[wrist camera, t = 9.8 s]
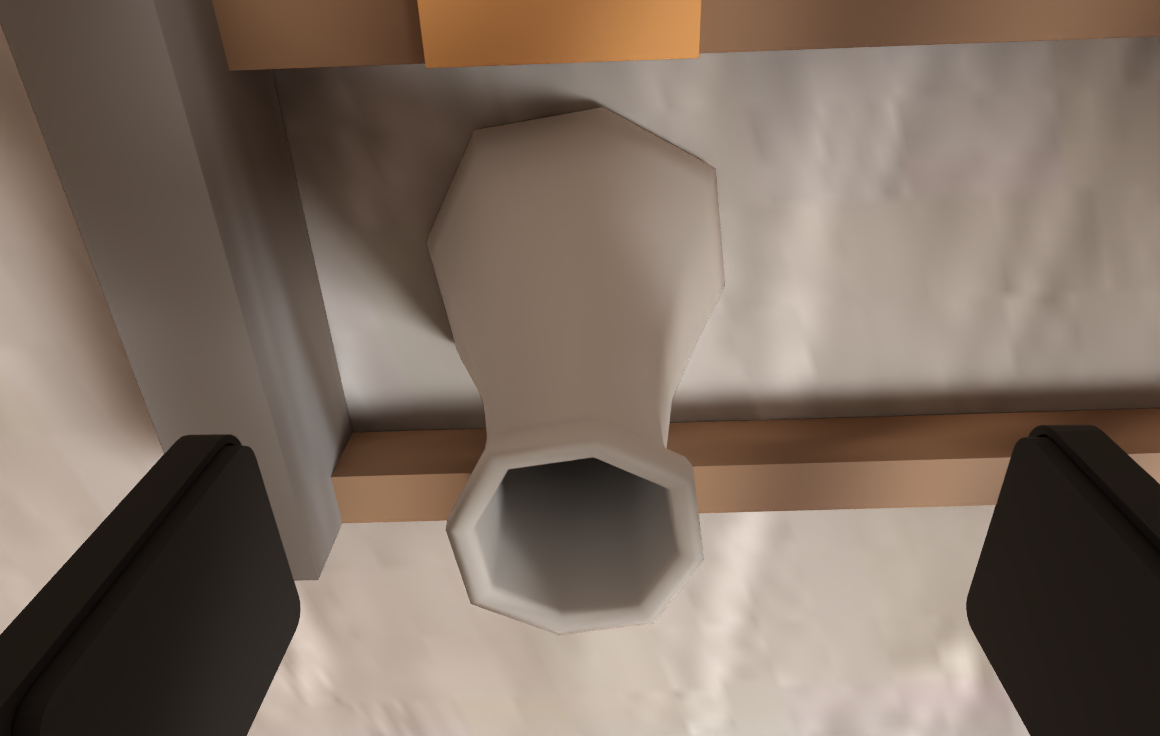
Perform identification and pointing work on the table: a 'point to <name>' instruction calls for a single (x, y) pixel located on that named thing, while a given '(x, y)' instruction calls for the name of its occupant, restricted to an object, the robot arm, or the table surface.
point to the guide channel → (287, 269)
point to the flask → (577, 363)
